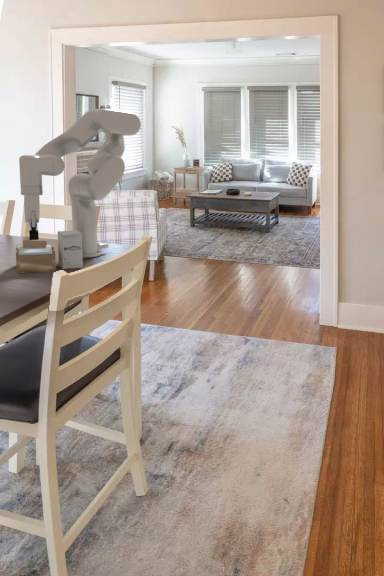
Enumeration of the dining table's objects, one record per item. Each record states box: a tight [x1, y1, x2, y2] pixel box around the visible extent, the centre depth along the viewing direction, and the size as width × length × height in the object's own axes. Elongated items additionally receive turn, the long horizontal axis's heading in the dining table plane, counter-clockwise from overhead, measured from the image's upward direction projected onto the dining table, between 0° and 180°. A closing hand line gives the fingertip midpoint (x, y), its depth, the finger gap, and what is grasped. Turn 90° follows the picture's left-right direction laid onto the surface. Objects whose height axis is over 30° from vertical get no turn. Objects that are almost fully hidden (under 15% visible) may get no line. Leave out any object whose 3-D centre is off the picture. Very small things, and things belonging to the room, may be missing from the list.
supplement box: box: [57, 230, 84, 270], centre depth 205 cm, size 7×7×13 cm
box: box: [15, 244, 57, 274], centre depth 203 cm, size 13×13×7 cm
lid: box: [18, 239, 53, 255], centre depth 202 cm, size 13×11×3 cm
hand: (34, 241), depth 210 cm, fingers closed
